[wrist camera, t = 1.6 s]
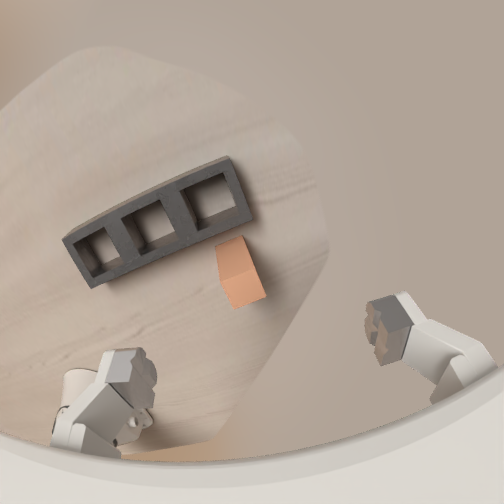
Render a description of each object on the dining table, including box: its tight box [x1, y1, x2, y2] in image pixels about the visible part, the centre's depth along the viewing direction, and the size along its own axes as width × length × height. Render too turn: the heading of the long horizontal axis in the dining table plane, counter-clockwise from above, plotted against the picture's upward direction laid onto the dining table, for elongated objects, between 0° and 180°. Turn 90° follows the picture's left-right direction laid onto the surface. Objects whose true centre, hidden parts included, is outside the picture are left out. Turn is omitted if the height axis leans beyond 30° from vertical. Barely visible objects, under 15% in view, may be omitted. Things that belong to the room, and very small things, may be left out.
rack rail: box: [62, 155, 253, 289], centre depth 35 cm, size 8×24×4 cm, turn 110°
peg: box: [215, 236, 266, 309], centre depth 36 cm, size 4×4×10 cm
